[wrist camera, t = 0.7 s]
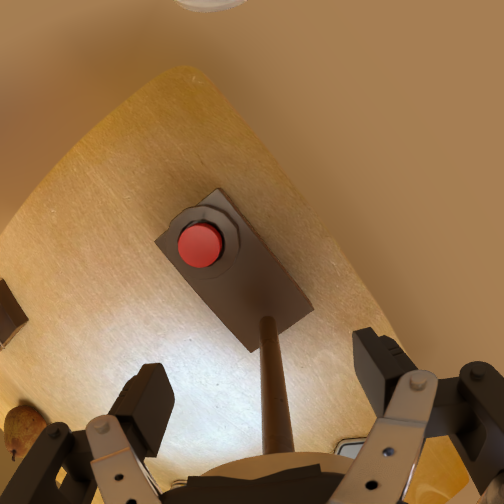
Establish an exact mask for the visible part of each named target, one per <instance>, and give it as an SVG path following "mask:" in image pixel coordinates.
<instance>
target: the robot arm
mask: <svg viewBox="0 0 504 504" xmlns="http://www.w3.org/2000/svg"><path fill="white" fill-rule="evenodd" d="M352 338H353V356H354V368H355V372H356V375H357V378H358V380H359V382H360V384H361V386H362V388H363V390H364V392H365V394H366V396H367V398H368V400H369V402H370V404H371V406H372V408H373V410H374V412H375V414H376V416H377V419H376V421H375V423H374V425H373V426H372V428H371V430H370V432H369V434H368V436H367V438H366V440H365V442H364V444H363V445H362V447H361V449H360V451H359V452H358V454H357V456H356V458H355V459H354V461H353V463H352V465H351V466H350V468H349V470H348V471H347V473H346V474H342V473H336V472H321V467H320V463H319V464H314V465H308V466H303V467H297V468H291V469H286V470H283V471H280V472H277V473H274V474H271V475H267V476H264V477H261V478H257V479H254V480H247V479H238V478H231V477H224V476H188V480H187V485H184V486H180V487H176V488H174V489H171V490H169V491H167V492H165V493H163V492H162V491H161V489H160V488H159V486H158V484H157V483H156V481H155V480H154V478H153V476H152V475H151V473H150V471H149V470H148V468H147V466H146V465H145V463H144V459H145V457H155V458H156V457H157V454H158V451H159V448H160V445H161V442H162V439H163V436H164V433H165V430H166V427H167V424H168V421H169V418H170V415H171V412H172V410H173V407H174V403H175V397H174V392H173V389H172V387H171V384H170V382H169V379H168V377H167V374H166V372H165V369H164V367H163V365H162V364H161V363H151V364H144V365H143V366H142V367H141V369H140V371H139V373H138V374H137V375H135V376H133V377H132V378H131V379H130V380H129V381H128V382H127V383H126V384H125V386H124V387H123V389H122V391H121V392H120V394H119V397H117V399H116V401H115V402H114V404H113V406H112V408H111V409H110V411H109V413H108V414H107V415H101V416H98V417H96V418H94V419H93V420H91V421H90V422H89V423H88V424H87V426H86V430H80V431H73V432H71V430H70V429H69V427H68V425H67V424H65V423H63V422H55V423H52V424H50V425H48V426H47V427H45V428H44V429H43V430H42V432H41V433H40V435H39V436H38V438H37V439H36V441H35V442H34V444H33V445H32V447H31V448H30V450H29V451H28V453H27V454H26V456H25V458H24V459H23V461H22V463H21V464H20V465H19V467H18V469H17V470H16V472H15V473H14V475H13V477H12V478H11V480H10V481H9V483H8V485H7V486H6V488H5V490H4V491H3V493H2V495H1V496H0V504H91V502H92V500H93V497H94V494H95V492H96V489H97V486H98V488H99V490H100V493H101V496H102V498H103V501H104V503H105V504H408V503H406V502H404V501H403V500H404V498H405V496H406V494H407V491H408V489H409V486H410V483H411V481H412V478H413V475H414V473H415V470H416V467H417V465H418V462H419V459H420V456H421V453H422V450H423V447H424V444H425V441H426V438H431V437H438V436H445V435H448V436H449V437H450V439H451V441H452V443H453V445H454V446H455V448H456V450H457V452H458V454H459V455H460V457H461V459H462V461H463V463H464V465H465V467H466V468H467V470H468V472H469V474H470V476H471V478H472V480H473V482H474V484H475V486H476V488H477V489H478V492H479V494H480V496H481V497H480V499H479V500H478V502H477V504H504V378H503V376H502V375H500V374H499V372H498V371H497V370H495V368H494V367H493V366H492V365H490V364H488V363H486V362H481V361H475V362H470V363H468V364H466V365H464V366H463V367H462V368H461V370H460V374H459V377H453V378H447V379H437V377H436V375H435V374H433V373H432V372H430V371H426V370H419V369H418V368H417V367H416V366H415V364H414V363H413V362H412V361H411V360H410V358H409V357H408V356H407V355H406V353H404V351H403V350H402V349H401V347H399V345H398V344H397V343H396V341H395V340H394V339H392V338H390V337H387V336H385V335H383V336H380V337H378V336H377V334H376V333H375V332H374V331H373V329H372V328H371V327H368V328H364V329H360V330H356V331H353V334H352ZM61 466H62V467H63V469H64V470H65V471H66V472H67V474H66V476H65V478H64V480H63V482H62V484H61V486H60V488H59V489H58V487H57V486H56V482H55V479H56V476H57V474H58V472H59V470H60V468H61Z"/></svg>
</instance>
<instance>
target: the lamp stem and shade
mask: <svg viewBox="0 0 504 504" xmlns="http://www.w3.org/2000/svg"><path fill="white" fill-rule="evenodd" d="M259 338H260V373H261V410H262V450H263V455H260V456H254V457H249V458H244V459H240V460H236V461H232V462H229V463H226V464H223V465H220V466H218V467H215V468H213V469H211V470H209V471H207V472H205V473H204V474H202V475H201V476H224V477H231V478H238V479H247V480H254V479H257V478H261V477H264V476H267V475H271V474H274V473H277V472H280V471H283V470H286V469H291V468H297V467H303V466H308V465H314V464H319V463H320V467H321V472H336V473H342V474H346V473H347V471H348V470H349V468H350V466H351V465H352V463H353V461H354V459H352V458H349V457H346V456H341V455H336V454H329V453H319V452H295V450H294V442H293V435H292V428H291V421H290V413H289V406H288V399H287V392H286V385H285V378H284V371H283V365H282V358H281V351H280V344H279V338H278V331H277V324H276V320H275V319H274V318H273V317H271V316H265V317H263V318H261V320H260V321H259Z"/></svg>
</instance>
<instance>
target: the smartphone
mask: <svg viewBox="0 0 504 504" xmlns="http://www.w3.org/2000/svg"><path fill="white" fill-rule="evenodd" d="M365 440H366V438H360V439H347V440H343V441H341V442H340V443H339V444H338V446H337V448H336V451H335V453H334V454H336V455H341V456H346V457H349V458H352V459H355V458H356V456H357V454H358V452H359V451H360V449H361V447H362V445H363V444H364V442H365Z"/></svg>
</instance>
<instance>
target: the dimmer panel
mask: <svg viewBox="0 0 504 504" xmlns="http://www.w3.org/2000/svg"><path fill="white" fill-rule="evenodd" d="M27 321H28V318H27V317H26V315H25V314H24V312H23V311H22V309H21V308H20V306H19V304H18V303H17V301H16V300H15V298H14V296H13V295H12V293H11V291H10V290H9V288H8V286H7V285H6V283H5V281H4V280H3V279H2V280H0V351H1V350H2V349H5V346H6V345H7V343H8V342H9V341H10V340H11V339H12V338H13V337H14V335H15V334H16V333H17V332H18V331H19V330H20V329H21V328H22V327H23V326H24V324H25V323H26V322H27Z"/></svg>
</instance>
